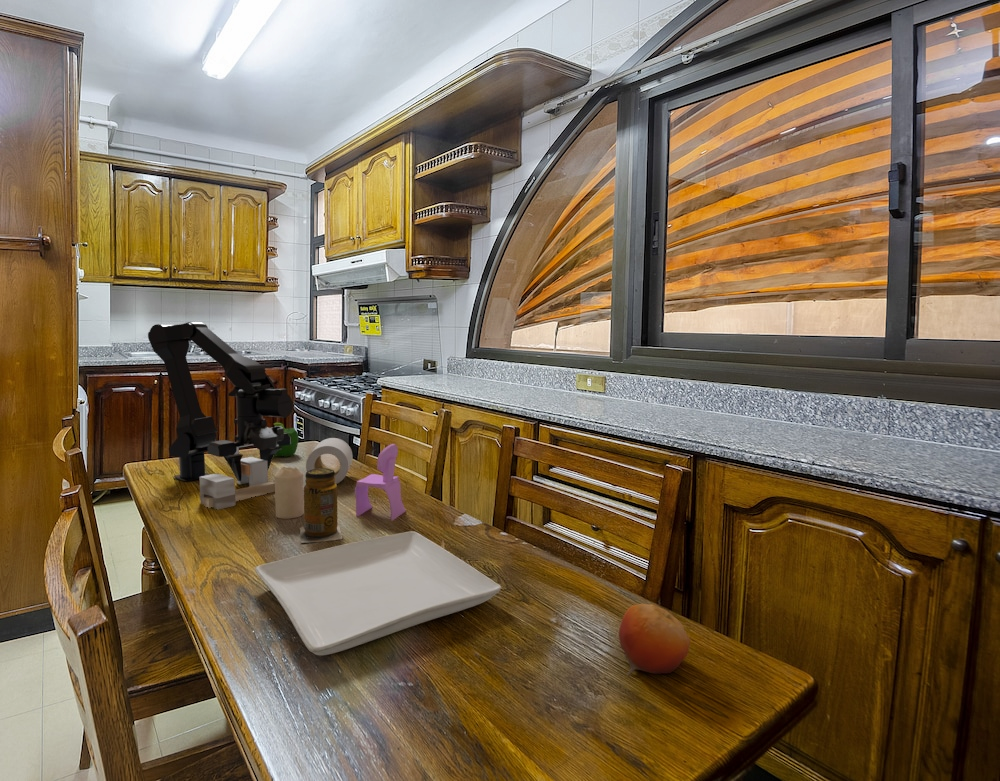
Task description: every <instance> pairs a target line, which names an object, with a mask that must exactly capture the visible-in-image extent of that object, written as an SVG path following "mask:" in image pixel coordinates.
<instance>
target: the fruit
mask: <svg viewBox="0 0 1000 781" xmlns="http://www.w3.org/2000/svg"><path fill="white" fill-rule="evenodd" d="M618 636H619V644H620V647H621V649H622V650H623V655H625V657H626V659H627V662H628V665H629V668H630V669H629V671H628V672H627V674H628V676H630V675H631V674H632V673H633V672H634V671H643V672H646V673H650V674H653V675H654V674H656V675H657V674H671V673H672V672H674V671H675V670H676V669H677V668H678V667H679V666H680V665H681V664H682V662H683V661H684V660H685V658H686V657H687V655H688V653H689V648H690V644H691V638H690V637H689V635H688V634H687V633H686V630H685V627H684V625H683V624H682V623H681V621H679V620H678V618H677V617H675V616H674V615H673V614H672V613H671V612H669V611H668V610H666V609H664V608H662V607H660V606H657V605H655V604H652V603H651V604H647V603H638V604H637V603H636V604H634V605H632V606H630V607H628V608H627V610H626V611H625V613H624V615H623V618H622V620H621V623H620V626H619V630H618Z"/></svg>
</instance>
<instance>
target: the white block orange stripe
mask: <svg viewBox="0 0 1000 781" xmlns="http://www.w3.org/2000/svg"><path fill="white" fill-rule="evenodd" d="M241 474H242V476H241V481H238V480H237V479H236V484H237V485H244V484H248V485H249V486H248V487H250V486H255V485H259V484H263V483H267V482H269V469H268V465H267V461H266V460H262V459H260V458H258V457H253V456H248V457H242V458H241Z"/></svg>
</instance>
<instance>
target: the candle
mask: <svg viewBox="0 0 1000 781" xmlns="http://www.w3.org/2000/svg"><path fill="white" fill-rule="evenodd" d="M274 481H275V492H274V499H275V502H274V503H275V504H274V505H275V517H276V518H278V519H281V520H282V519H283V520H285V519H286V520H287V519H295V518H299V517H301V516H304V473H303V472H302V471H301V470H300V469H299V468H297V467H290V466H289V467H286V466H282V467H281V468H279V470H278V471H277V472H276V473H275V474H274Z"/></svg>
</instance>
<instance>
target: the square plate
mask: <svg viewBox="0 0 1000 781" xmlns="http://www.w3.org/2000/svg"><path fill="white" fill-rule="evenodd" d="M254 571H255V573H256V575H257V576H258V577H259V579H260V580H261V581H262V582H263V583H264V584H265V586H266V587H267V588H268V589H269V590H270V592H271V593H272V595H273V596H274V597H275V599H277V601H278V603H279V604H280V605H281V607H282V609H283V610H284V612H285V613H286V615H287V616H288V618H289V620H290V622H291V623H292V625H293V628H294V629H295V630H296V632H297V634H298V636H299V638H300V639H301V641H302V642H303V644H304V645H305V647H306V649H307V650H308V651H309V652H311V653H312V654H314V655H316V656H328V655H332V654H336V653H339V652H343V651H346V650H348V649H349V650H350V649H352V648H355V647H357V646H359V645H363V644H367V643H368V642H372V641H375V640H377V639H380V638H383V637H387V636H389V635H391V634H394V633H396V632H399V631H403V630H405V629H408V628H411V627H414V626H417V625H419V624H423V623H426V622H429V621H432V620H435V619H438V618H441V617H445V616H448V615H450V614H454V613H458V612H460V611H464V610H467V609H470V608H473V607H475V606H479V605H480V604H483V603H485V602H487V601H489V600H490V599H491V598H493V597H494V596H496V595H497V594H499V592H500V591H501V589H502V586H501V585H500V584H499V583H497V582H495V581H494V580H493V579H491V578H489V576H487V575H485V574H484V573H482V572H481V571H479V570H477V569H476V568H475V567H473V566H471V565H470V564H468V563H467V562H466V561H464V560H463V559H460V558H459V557H458V556H456V555H454V554H453V553H452V552H449V551H448V550H446V549H445V548H443V547H442V546H440V545H439V544H437V543H435V542H433V541H432V540H430V539H428V538H427V537H426V536H424V535H422V534H421V533H418V532H417V531H414V530H413V531H412V530H411V531H405V532H399V533H394V534H390V535H383V536H380V537H374V538H369V539H364V540H360V541H355V542H349V543H344V544H341V545H335V546H332V547H328V548H327V547H326V548H324V549H319V550H315V551H310V552H307V553H302V554H300V555H299V554H298V555H294V556H291V557H286V558H284V559H280V560H276V561H275V560H274V561H272V562H271V561H270V562H267V563H263V564H260V565H256V566H255V567H254Z"/></svg>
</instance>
